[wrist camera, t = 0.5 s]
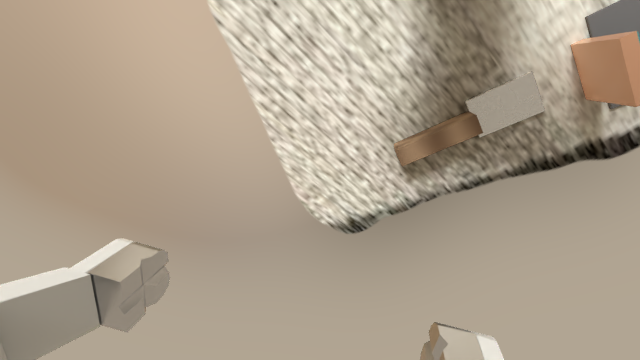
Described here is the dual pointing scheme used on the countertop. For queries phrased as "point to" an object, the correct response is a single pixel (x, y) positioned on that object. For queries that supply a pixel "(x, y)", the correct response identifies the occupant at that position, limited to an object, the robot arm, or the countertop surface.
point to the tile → (610, 68)
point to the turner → (476, 118)
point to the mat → (615, 21)
